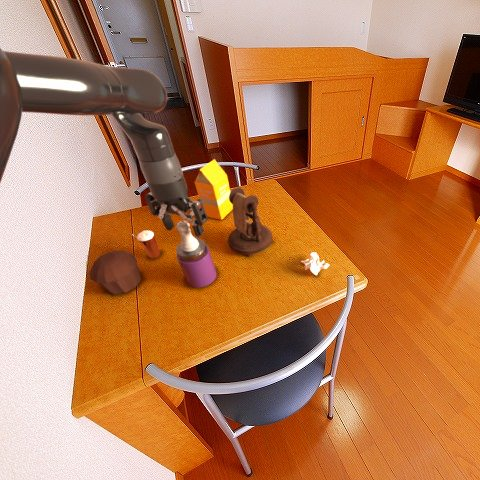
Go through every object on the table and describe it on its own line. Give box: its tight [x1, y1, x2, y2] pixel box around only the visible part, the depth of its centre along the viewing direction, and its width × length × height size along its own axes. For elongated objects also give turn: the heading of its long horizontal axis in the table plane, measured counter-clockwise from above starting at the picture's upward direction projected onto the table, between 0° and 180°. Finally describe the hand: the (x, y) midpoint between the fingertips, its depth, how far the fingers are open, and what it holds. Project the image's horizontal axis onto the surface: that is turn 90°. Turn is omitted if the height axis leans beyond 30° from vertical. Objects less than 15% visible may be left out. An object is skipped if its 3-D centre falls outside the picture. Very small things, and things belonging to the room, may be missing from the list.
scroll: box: [227, 186, 273, 257], centre depth 88 cm, size 15×15×20 cm
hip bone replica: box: [300, 251, 330, 276], centre depth 85 cm, size 8×4×7 cm
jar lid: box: [175, 237, 207, 261], centre depth 75 cm, size 8×8×2 cm
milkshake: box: [130, 230, 161, 259], centre depth 85 cm, size 4×5×10 cm
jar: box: [176, 244, 218, 289], centre depth 79 cm, size 8×8×12 cm
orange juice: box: [194, 158, 233, 221], centre depth 101 cm, size 8×9×20 cm
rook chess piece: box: [176, 219, 199, 252], centre depth 72 cm, size 4×4×8 cm
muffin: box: [88, 250, 142, 296], centre depth 76 cm, size 12×11×10 cm
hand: (185, 231), depth 71 cm, fingers open, 8 cm apart
